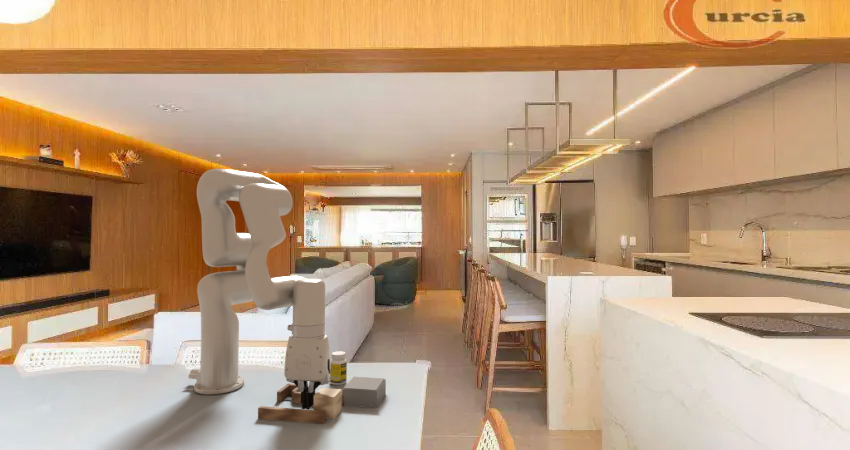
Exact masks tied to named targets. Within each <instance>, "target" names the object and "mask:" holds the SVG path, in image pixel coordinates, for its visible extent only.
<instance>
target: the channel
mask: <svg viewBox="0 0 850 450" xmlns="http://www.w3.org/2000/svg"><path fill="white" fill-rule="evenodd" d="M316 393H317V392H315V394H316ZM283 401H284V402H285V401H289V402H293V403H294V404H301V392H300V391H299V388H298V387H297V386H296V385H295V384H294V383H287V384H285V385H283V387H281V388H280V389H279V390H277V391H276V402H277V403H278V402H279V403H281V402H283ZM342 407H345V406H344V396H343V395H342ZM257 419H258V420H269V421H270V420H271V421H282V422H293V423H295V422H296V423H310V424H322V425H324V424H325V423H326V422H327V421H326V420H327V418H326V411H320V410H314V409H309V410H308V409H302V408H294V407H293V408H290V407H278V406H276V407H274V406H263V405H260V406H258V407H257Z"/></svg>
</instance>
